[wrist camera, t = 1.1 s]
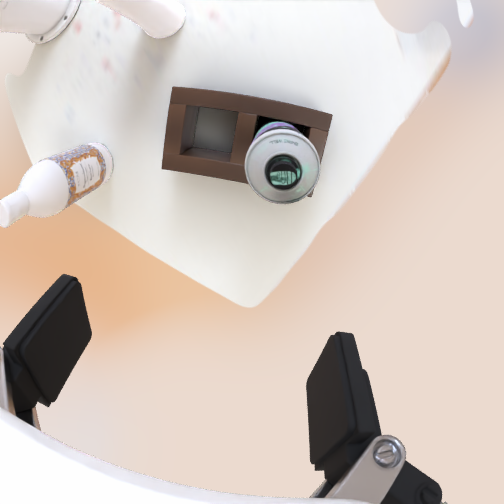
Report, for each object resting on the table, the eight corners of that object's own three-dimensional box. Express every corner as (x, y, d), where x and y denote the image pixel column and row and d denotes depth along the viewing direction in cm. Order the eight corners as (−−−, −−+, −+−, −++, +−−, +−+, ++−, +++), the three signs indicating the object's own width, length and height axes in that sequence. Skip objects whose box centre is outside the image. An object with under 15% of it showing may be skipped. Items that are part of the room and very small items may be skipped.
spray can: (307, 145, 35) (343, 189, 17) (272, 168, 37) (273, 233, 19) (282, 111, 33) (295, 116, 16) (247, 135, 35) (222, 167, 17)
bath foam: (117, 183, 39) (29, 247, 21) (82, 186, 39) (-6, 245, 22) (112, 138, 36) (11, 178, 18) (76, 144, 36) (-22, 186, 18)
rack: (187, 88, 32) (172, 86, 27) (323, 113, 33) (332, 114, 27) (176, 159, 37) (161, 169, 32) (305, 183, 37) (311, 197, 32)
